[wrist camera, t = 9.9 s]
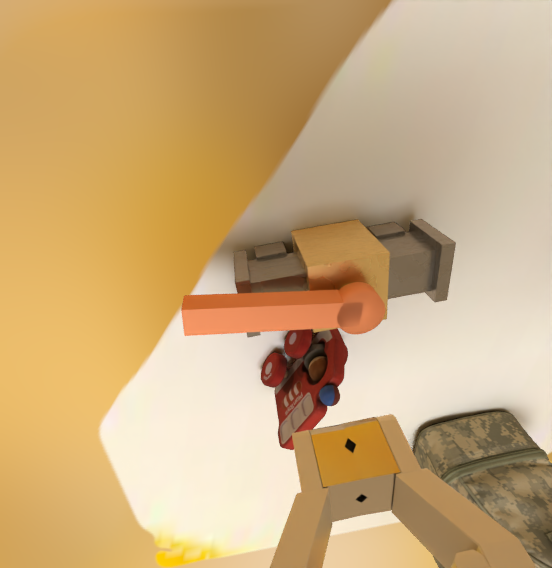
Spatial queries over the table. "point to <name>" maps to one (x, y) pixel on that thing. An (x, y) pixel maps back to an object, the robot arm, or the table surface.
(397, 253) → the pipe valve
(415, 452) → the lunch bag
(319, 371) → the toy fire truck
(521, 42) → the table surface
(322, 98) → the table surface
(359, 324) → the lever
